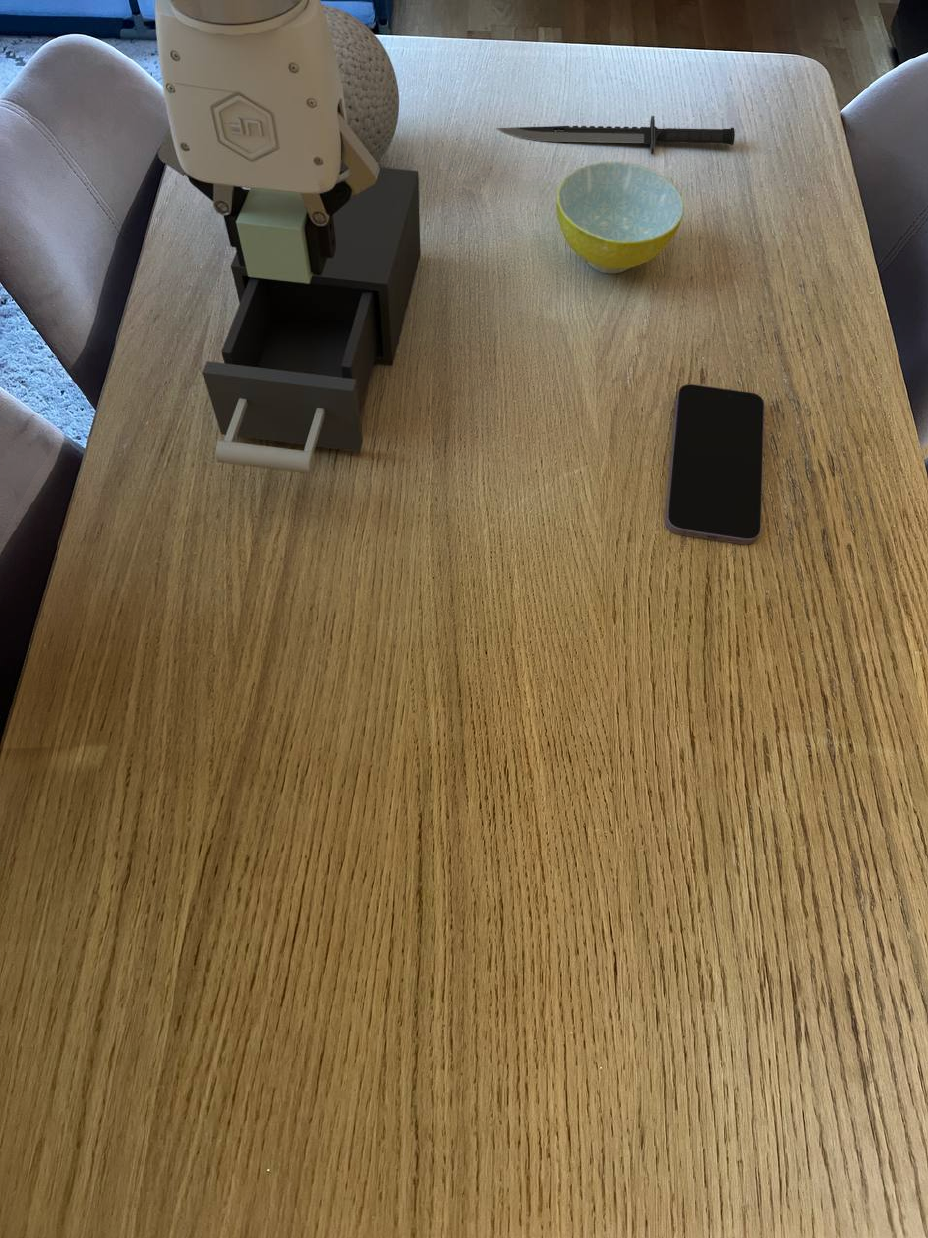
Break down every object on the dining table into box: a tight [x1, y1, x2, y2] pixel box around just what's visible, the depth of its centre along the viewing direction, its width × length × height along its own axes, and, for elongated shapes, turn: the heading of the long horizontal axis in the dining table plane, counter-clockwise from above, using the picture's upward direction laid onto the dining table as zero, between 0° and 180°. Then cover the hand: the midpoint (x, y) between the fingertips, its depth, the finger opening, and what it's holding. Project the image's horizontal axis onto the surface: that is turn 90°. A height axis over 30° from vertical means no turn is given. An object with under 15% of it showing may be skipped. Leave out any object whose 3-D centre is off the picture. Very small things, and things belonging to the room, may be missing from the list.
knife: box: [496, 115, 736, 155], centre depth 95 cm, size 25×2×5 cm
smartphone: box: [664, 383, 766, 545], centre depth 73 cm, size 7×1×15 cm
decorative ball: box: [322, 4, 400, 164], centre depth 85 cm, size 15×15×15 cm
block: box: [236, 188, 313, 284], centre depth 63 cm, size 4×4×4 cm
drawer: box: [201, 277, 382, 475], centre depth 72 cm, size 19×11×7 cm, turn 172°
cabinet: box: [230, 163, 422, 367], centre depth 79 cm, size 15×13×9 cm
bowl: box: [556, 161, 685, 275], centre depth 84 cm, size 11×12×6 cm
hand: (285, 255), depth 64 cm, fingers closed on block, 4 cm apart
